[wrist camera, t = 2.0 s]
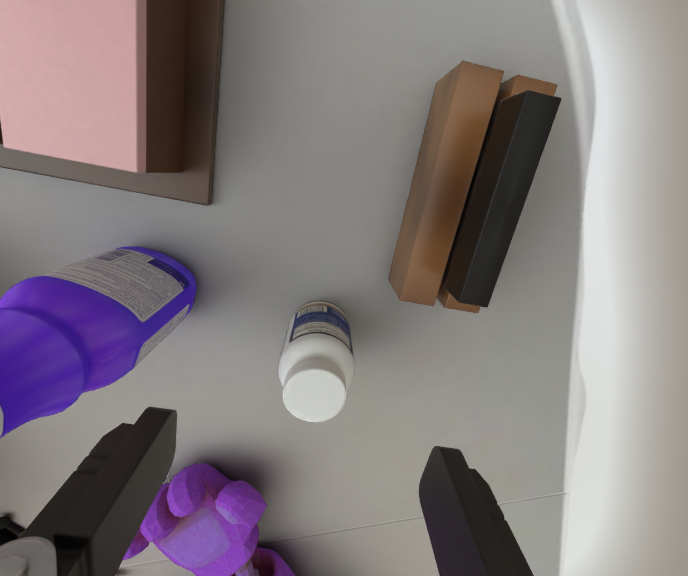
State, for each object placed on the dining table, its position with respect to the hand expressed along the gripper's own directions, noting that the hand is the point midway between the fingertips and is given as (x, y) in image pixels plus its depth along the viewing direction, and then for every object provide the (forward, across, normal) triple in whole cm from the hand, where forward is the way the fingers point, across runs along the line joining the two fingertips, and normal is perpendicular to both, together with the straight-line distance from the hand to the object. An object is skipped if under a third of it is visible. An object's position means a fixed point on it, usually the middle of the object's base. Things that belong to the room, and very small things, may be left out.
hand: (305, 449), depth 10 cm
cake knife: (+19, -9, -8) cm, 22 cm away
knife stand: (+19, -9, -8) cm, 22 cm away
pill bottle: (+19, -1, +5) cm, 20 cm away
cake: (+18, +15, -12) cm, 27 cm away
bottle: (+19, +13, +4) cm, 23 cm away
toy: (+19, +4, +33) cm, 39 cm away
